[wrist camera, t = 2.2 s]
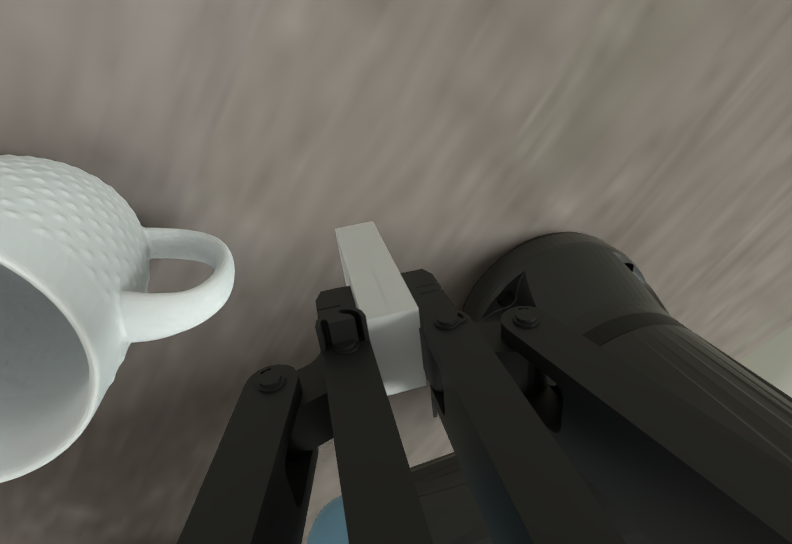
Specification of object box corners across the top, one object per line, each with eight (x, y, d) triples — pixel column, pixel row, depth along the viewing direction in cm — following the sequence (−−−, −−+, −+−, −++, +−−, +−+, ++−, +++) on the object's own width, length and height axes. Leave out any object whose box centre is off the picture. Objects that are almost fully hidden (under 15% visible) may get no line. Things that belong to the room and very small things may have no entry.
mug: (237, 136, 25) (202, 210, 14) (248, 304, 30) (230, 462, 19) (-87, 122, 22) (-486, 207, 10) (-15, 315, 27) (-235, 518, 15)
